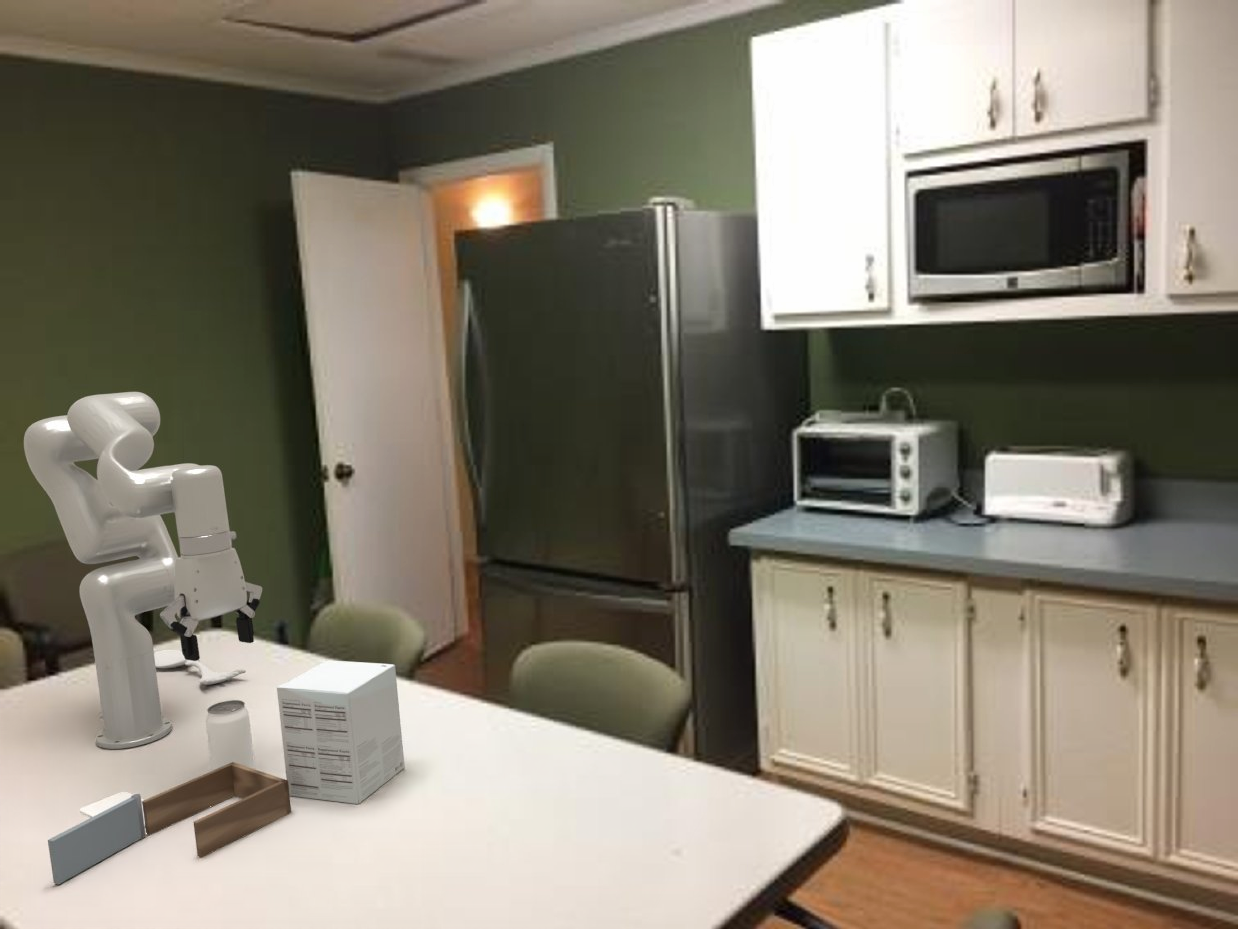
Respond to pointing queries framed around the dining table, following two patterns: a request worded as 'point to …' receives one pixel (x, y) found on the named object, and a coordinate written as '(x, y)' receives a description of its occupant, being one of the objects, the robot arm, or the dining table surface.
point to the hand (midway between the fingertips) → (220, 650)
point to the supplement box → (341, 730)
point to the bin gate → (96, 838)
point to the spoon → (177, 659)
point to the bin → (256, 808)
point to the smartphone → (106, 804)
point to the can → (229, 734)
